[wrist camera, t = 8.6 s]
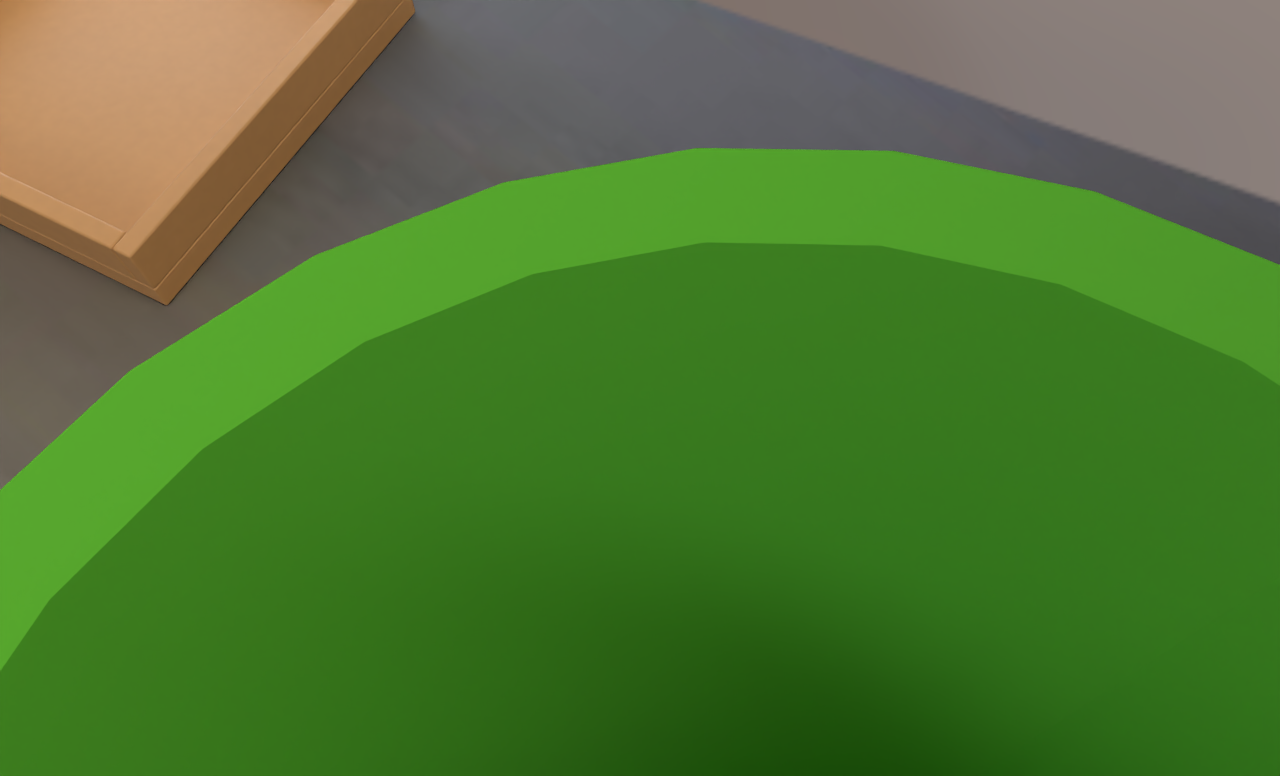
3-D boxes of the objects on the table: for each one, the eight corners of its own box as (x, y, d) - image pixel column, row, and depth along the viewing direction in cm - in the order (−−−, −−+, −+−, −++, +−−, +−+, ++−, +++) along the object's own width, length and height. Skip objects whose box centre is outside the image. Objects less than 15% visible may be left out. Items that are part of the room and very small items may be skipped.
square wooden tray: (416, 12, 33) (399, -49, 31) (167, 306, 28) (128, 257, 26) (116, -104, 36) (83, -166, 34) (-158, 147, 31) (-215, 91, 29)
